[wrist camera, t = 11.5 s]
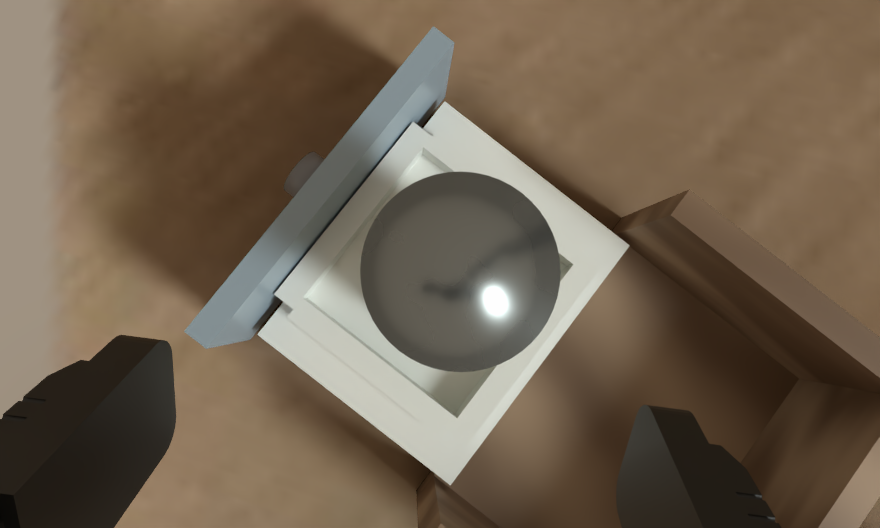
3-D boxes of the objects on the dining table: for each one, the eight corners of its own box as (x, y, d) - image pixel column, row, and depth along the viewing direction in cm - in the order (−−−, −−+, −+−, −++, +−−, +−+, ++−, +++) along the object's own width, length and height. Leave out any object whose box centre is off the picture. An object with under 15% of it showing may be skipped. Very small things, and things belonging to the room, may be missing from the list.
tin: (433, 197, 26) (443, 131, 17) (530, 273, 26) (600, 253, 16) (355, 294, 26) (318, 288, 16) (454, 372, 26) (479, 413, 16)
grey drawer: (408, 69, 29) (408, 6, 23) (624, 237, 29) (681, 219, 23) (212, 309, 27) (157, 310, 21) (438, 486, 27) (446, 536, 21)
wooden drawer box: (621, 217, 29) (689, 189, 22) (819, 371, 29) (949, 391, 22) (416, 490, 28) (419, 552, 21) (623, 652, 28) (696, 769, 21)
